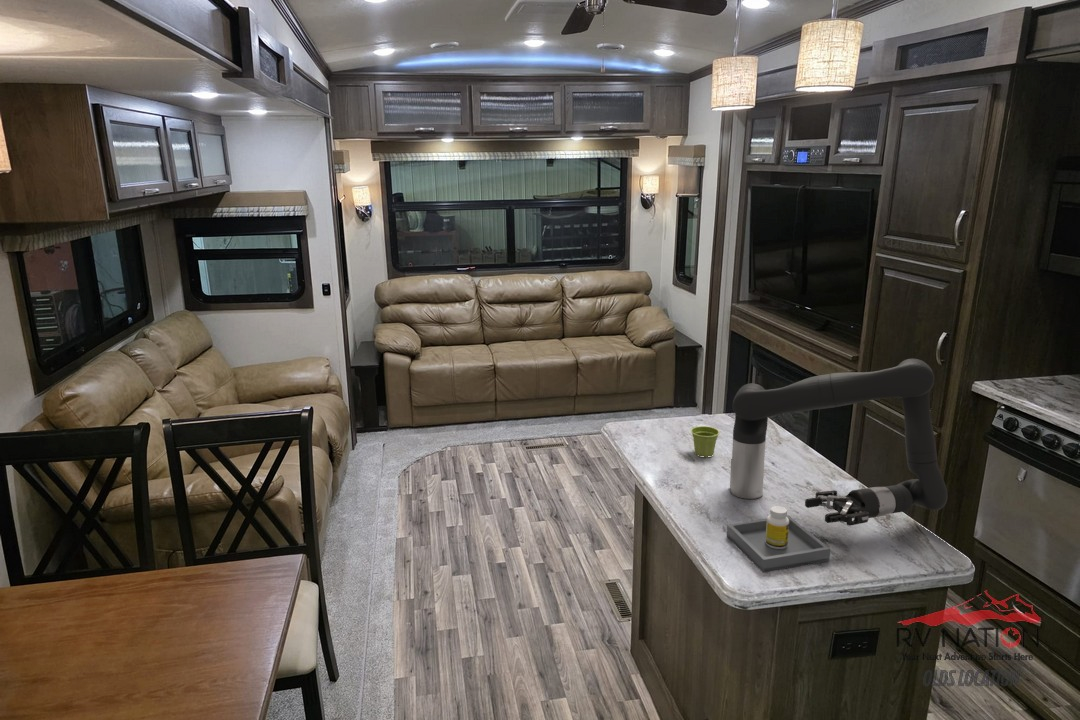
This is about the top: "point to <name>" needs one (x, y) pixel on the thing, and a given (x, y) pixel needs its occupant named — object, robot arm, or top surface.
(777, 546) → the supplement bottle
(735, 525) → the bin
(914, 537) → the top surface
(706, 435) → the plant pot
